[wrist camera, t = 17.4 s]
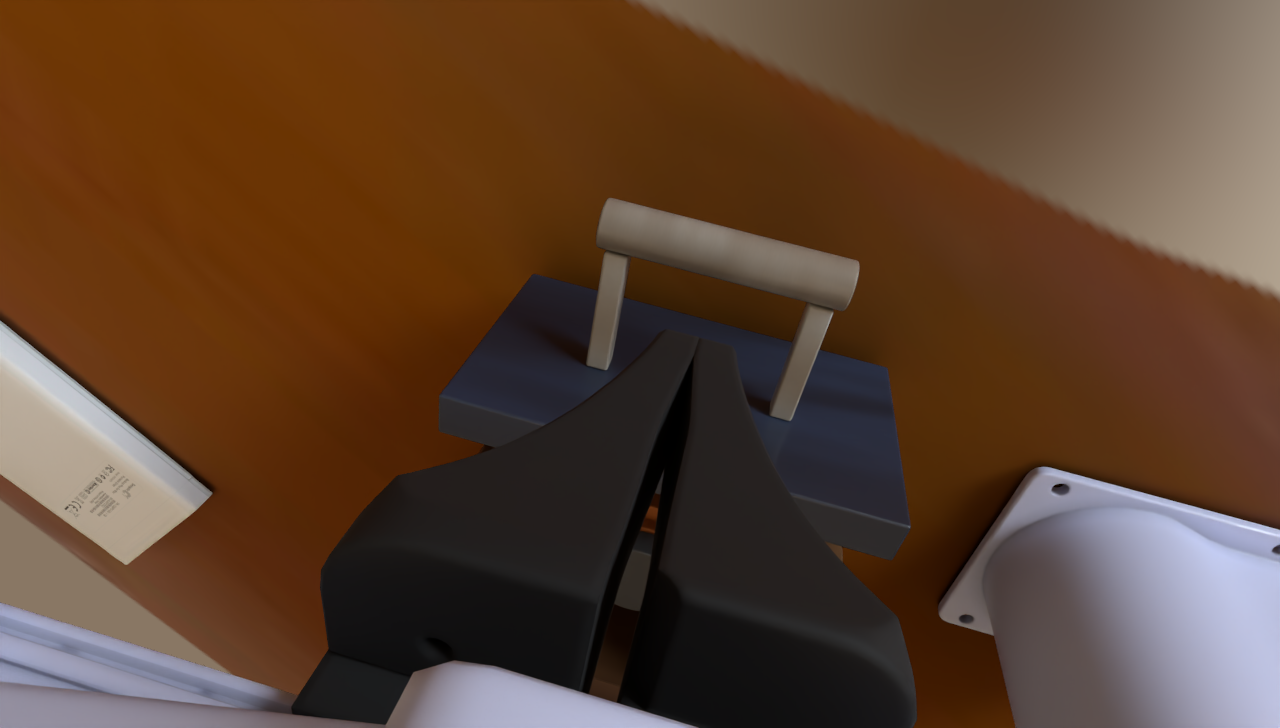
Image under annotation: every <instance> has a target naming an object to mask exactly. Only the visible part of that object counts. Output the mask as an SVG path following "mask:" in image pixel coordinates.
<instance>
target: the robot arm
mask: <svg viewBox="0 0 1280 728" xmlns="http://www.w3.org/2000/svg"><path fill="white" fill-rule="evenodd" d="M663 471H664V474H663ZM662 474H663V480H662V487H661V493H660V500H659V506H658V513H657V519H656V526H655V533H654V539H653V546H652V553H651V559H650V566H649V572H648V577H647V582H646V587H645V592H644V596H643V600H642V604H641V608H640V612H639V616H638V620H637V624H636V627H635V631H634V635H633V639H632V643H631V647H630V651H629V655H628V659H627V663H626V667H625V671H624V674H623V678H622V682H621V686H620V690H619V694H618V698H617V702H616V703H615V702H612V701H609V700H605V699H602V698H599V697H596V696H592V695H589V692H590V689H591V685H592V682H593V678H594V674H595V671H596V667H597V664H598V660H599V657H600V653H601V650H602V646H603V642H604V639H605V635H606V632H607V628H608V625H609V621H610V618H611V614H612V611H613V607H614V603H615V600H616V596H617V593H618V589H619V586H620V583H621V580H622V577H623V574H624V571H625V568H626V565H627V563H628V560H629V557H630V555H631V552H632V550H633V547H634V545H635V542H636V540H637V537H638V535H639V532H640V530H641V527H642V525H643V522H644V519H645V517H646V514H647V512H648V509H649V507H650V504H651V502H652V499H653V497H654V494H655V492H656V489H657V486H658V484H659V481H660V479H661V476H662ZM1056 484H1064V485H1063V486H1062V487H1058V488H1056V487H1053V486H1054V485H1056ZM1277 545H1280V530H1278V529H1275V528H1271V527H1267V526H1264V525H1260V524H1256V523H1253V522H1249V521H1245V520H1242V519H1238V518H1234V517H1231V516H1227V515H1223V514H1220V513H1216V512H1212V511H1208V510H1205V509H1201V508H1197V507H1194V506H1190V505H1186V504H1183V503H1179V502H1175V501H1172V500H1168V499H1164V498H1161V497H1157V496H1153V495H1150V494H1146V493H1142V492H1138V491H1135V490H1131V489H1127V488H1124V487H1120V486H1116V485H1113V484H1109V483H1105V482H1102V481H1098V480H1094V479H1091V478H1087V477H1083V476H1080V475H1076V474H1072V473H1068V472H1065V471H1061V470H1057V469H1054V468H1050V467H1038V468H1035V469H1033V470H1031V471H1030V472H1029V473H1028V474H1027V475H1026V476H1025V478H1024V479H1023V481H1022V482H1021V484H1020V485H1019V487H1018V488H1017V490H1016V491H1015V493H1014V494H1013V496H1012V497H1011V498H1010V500H1009V501H1008V503H1007V504H1006V506H1005V507H1004V509H1003V510H1002V512H1001V513H1000V515H999V516H998V518H997V519H996V521H995V522H994V524H993V525H992V526H991V528H990V529H989V531H988V532H987V534H986V535H985V537H984V538H983V540H982V541H981V543H980V544H979V546H978V547H977V549H976V550H975V552H974V553H973V555H972V556H971V557H970V559H969V560H968V562H967V563H966V565H965V566H964V568H963V569H962V571H961V572H960V574H959V575H958V577H957V578H956V580H955V581H954V583H953V584H952V585H951V587H950V588H949V590H948V591H947V593H946V594H945V596H944V597H943V599H942V600H941V602H940V603H939V605H938V611H939V616H940V618H941V619H942V620H944V621H946V622H949V623H952V624H956V625H959V626H963V627H966V628H969V629H973V630H976V631H980V632H983V633H987V634H990V635H994V638H995V642H996V647H997V651H998V655H999V659H1000V663H1001V668H1002V672H1003V676H1004V680H1005V684H1006V689H1007V693H1008V697H1009V701H1010V705H1011V710H1012V714H1013V718H1014V722H1015V726H1016V728H1280V546H1277ZM1276 546H1277V547H1276ZM320 590H321V597H322V604H323V611H324V618H325V626H326V633H327V640H328V647H329V649H328V651H327V653H326V654H325V656H324V657H323V659H322V660H321V662H320V663H319V665H318V666H317V668H316V669H315V671H314V672H313V674H312V675H311V677H310V679H309V680H308V682H307V683H306V685H305V686H304V688H303V689H302V691H301V692H300V694H299V695H295V694H292V693H289V692H286V691H282V690H279V689H276V688H273V687H270V686H266V685H263V684H260V683H257V682H254V681H250V680H247V679H244V678H241V677H238V676H234V675H231V674H228V673H225V672H221V671H219V670H215V669H212V668H209V667H206V666H202V665H199V664H196V663H193V662H190V661H187V660H183V659H180V658H177V657H174V656H170V655H167V654H164V653H161V652H158V651H154V650H151V649H148V648H145V647H142V646H139V645H135V644H132V643H129V642H126V641H123V640H119V639H116V638H113V637H110V636H107V635H103V634H100V633H97V632H94V631H91V630H87V629H84V628H81V627H77V626H75V625H71V624H68V623H65V622H62V621H59V620H55V619H52V618H49V617H46V616H43V615H39V614H36V613H33V612H30V611H27V610H23V609H20V608H17V607H14V606H10V605H7V604H4V603H1V602H0V728H913V726H914V724H915V722H916V720H917V708H916V692H915V684H914V677H913V672H912V667H911V664H910V660H909V656H908V652H907V648H906V644H905V641H904V637H903V633H902V630H901V626H900V623H899V619H898V617H897V616H896V615H895V614H894V613H893V612H892V611H891V610H890V609H889V608H888V607H887V606H886V605H885V604H884V603H883V602H882V601H880V600H879V599H878V598H877V597H876V596H875V595H874V594H873V593H872V592H871V591H870V590H869V589H868V588H867V587H866V586H865V585H864V584H863V583H862V582H861V581H860V580H859V579H858V578H857V577H856V576H855V575H854V574H853V573H852V572H851V571H850V570H849V569H848V568H847V567H846V566H845V564H844V563H843V562H842V561H841V560H840V559H839V558H838V557H837V555H836V554H835V553H834V552H833V551H832V550H831V549H830V547H829V546H828V545H827V544H826V543H825V541H824V540H823V539H822V538H821V536H820V535H819V534H818V533H817V531H816V530H815V529H814V527H813V526H812V524H811V523H810V522H809V520H808V519H807V518H806V516H805V515H804V514H803V512H802V511H801V510H800V508H799V507H798V505H797V504H796V502H795V501H794V499H793V497H792V496H791V494H790V493H789V491H788V489H787V488H786V486H785V484H784V482H783V481H782V479H781V477H780V475H779V474H778V472H777V470H776V468H775V466H774V464H773V462H772V460H771V458H770V456H769V454H768V452H767V450H766V447H765V445H764V443H763V441H762V439H761V436H760V434H759V431H758V429H757V426H756V424H755V421H754V419H753V416H752V413H751V410H750V407H749V404H748V402H747V399H746V395H745V392H744V389H743V385H742V381H741V377H740V373H739V368H738V362H737V353H736V351H735V350H734V348H733V346H731V345H727V344H723V343H720V342H716V341H712V340H708V339H704V338H700V337H696V336H693V335H689V334H685V333H681V332H677V331H673V330H669V329H665V330H663V331H661V332H659V333H658V334H657V336H656V337H655V338H654V340H653V341H652V342H651V343H650V344H649V345H648V347H647V348H646V349H645V350H644V351H643V352H642V353H641V354H640V355H639V356H638V357H637V358H636V359H635V360H634V361H633V362H632V363H630V364H629V365H628V366H627V367H626V368H625V369H624V370H623V371H621V372H620V373H619V374H618V375H617V376H616V377H615V378H613V379H612V380H611V381H610V382H609V383H607V384H606V385H605V386H603V387H602V388H601V389H599V390H598V391H597V392H595V393H594V394H593V395H591V396H590V397H589V398H587V399H586V400H585V401H583V402H582V403H580V404H579V405H577V406H576V407H574V408H573V409H571V410H570V411H568V412H566V413H565V414H563V415H561V416H560V417H558V418H556V419H555V420H553V421H551V422H549V423H548V424H546V425H544V426H542V427H540V428H538V429H536V430H534V431H532V432H530V433H528V434H526V435H524V436H522V437H520V438H518V439H516V440H514V441H511V442H509V443H507V444H504V445H502V446H499V447H497V448H494V449H491V450H489V451H486V452H483V453H480V454H477V455H474V456H471V457H468V458H465V459H462V460H458V461H455V462H452V463H448V464H444V465H440V466H436V467H432V468H428V469H424V470H420V471H416V472H412V473H407V474H402V475H398V476H396V477H395V478H394V479H393V480H392V481H391V482H390V483H389V484H388V485H387V486H386V487H385V488H384V490H383V491H382V492H381V493H380V494H379V495H378V496H376V497H375V498H374V500H373V501H372V502H371V503H370V504H369V505H368V506H367V507H366V508H365V509H364V510H363V511H362V512H361V514H360V515H359V516H358V517H357V519H356V520H355V521H354V523H353V524H352V525H351V527H350V528H349V529H348V531H347V532H346V533H345V535H344V536H343V537H342V539H341V540H340V542H339V543H338V544H337V546H336V547H335V548H334V550H333V551H332V552H331V554H330V555H329V557H328V559H327V560H326V562H325V564H324V566H323V567H322V569H321V582H320ZM965 614H967V615H965Z"/></svg>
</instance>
